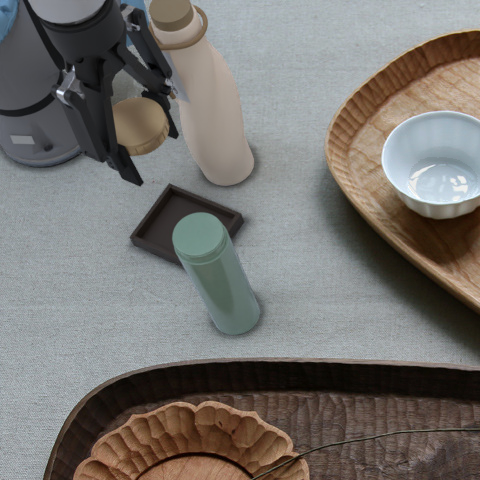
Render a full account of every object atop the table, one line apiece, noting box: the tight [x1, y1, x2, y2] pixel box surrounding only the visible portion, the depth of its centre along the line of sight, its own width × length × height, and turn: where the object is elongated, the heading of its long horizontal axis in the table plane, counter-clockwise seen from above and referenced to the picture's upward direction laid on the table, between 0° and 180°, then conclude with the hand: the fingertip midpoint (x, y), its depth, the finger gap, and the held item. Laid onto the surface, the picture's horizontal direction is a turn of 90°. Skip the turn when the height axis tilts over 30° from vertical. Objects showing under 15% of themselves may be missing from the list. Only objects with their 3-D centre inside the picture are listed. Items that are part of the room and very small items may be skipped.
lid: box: [112, 96, 170, 157], centre depth 95 cm, size 7×7×2 cm
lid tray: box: [128, 183, 245, 268], centre depth 114 cm, size 12×10×2 cm
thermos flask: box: [172, 212, 261, 336], centre depth 101 cm, size 6×6×19 cm
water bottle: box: [148, 0, 255, 187], centre depth 106 cm, size 10×9×28 cm
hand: (151, 156), depth 100 cm, fingers closed on lid, 7 cm apart
